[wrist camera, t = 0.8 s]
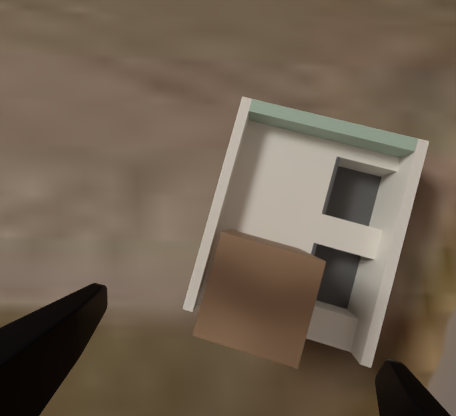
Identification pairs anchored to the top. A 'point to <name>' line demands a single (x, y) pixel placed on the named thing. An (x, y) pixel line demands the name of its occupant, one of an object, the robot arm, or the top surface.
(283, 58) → the top surface
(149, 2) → the top surface
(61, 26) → the top surface
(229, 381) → the top surface
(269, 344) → the walnut block
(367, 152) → the box
